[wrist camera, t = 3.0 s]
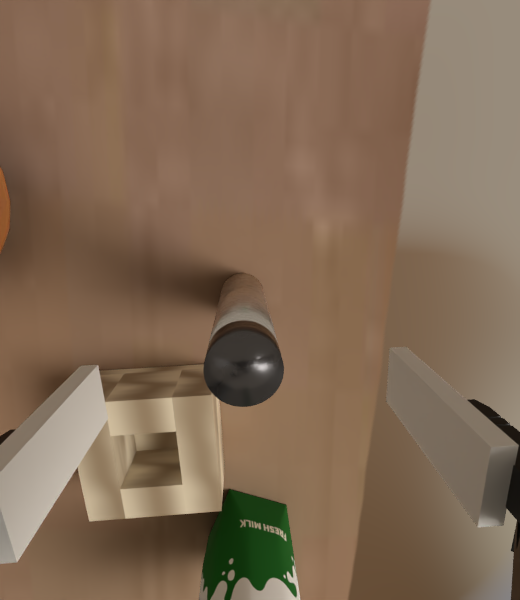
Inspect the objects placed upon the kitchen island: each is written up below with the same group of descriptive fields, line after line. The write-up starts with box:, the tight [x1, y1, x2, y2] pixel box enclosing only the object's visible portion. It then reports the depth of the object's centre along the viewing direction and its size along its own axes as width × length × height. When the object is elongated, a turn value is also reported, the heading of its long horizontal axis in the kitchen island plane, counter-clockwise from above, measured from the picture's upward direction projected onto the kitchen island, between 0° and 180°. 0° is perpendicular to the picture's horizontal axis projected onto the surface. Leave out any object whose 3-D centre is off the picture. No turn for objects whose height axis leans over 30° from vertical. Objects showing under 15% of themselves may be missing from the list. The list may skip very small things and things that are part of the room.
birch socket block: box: [77, 364, 225, 521], centre depth 33 cm, size 12×12×6 cm
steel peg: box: [203, 273, 284, 407], centre depth 25 cm, size 4×4×16 cm
